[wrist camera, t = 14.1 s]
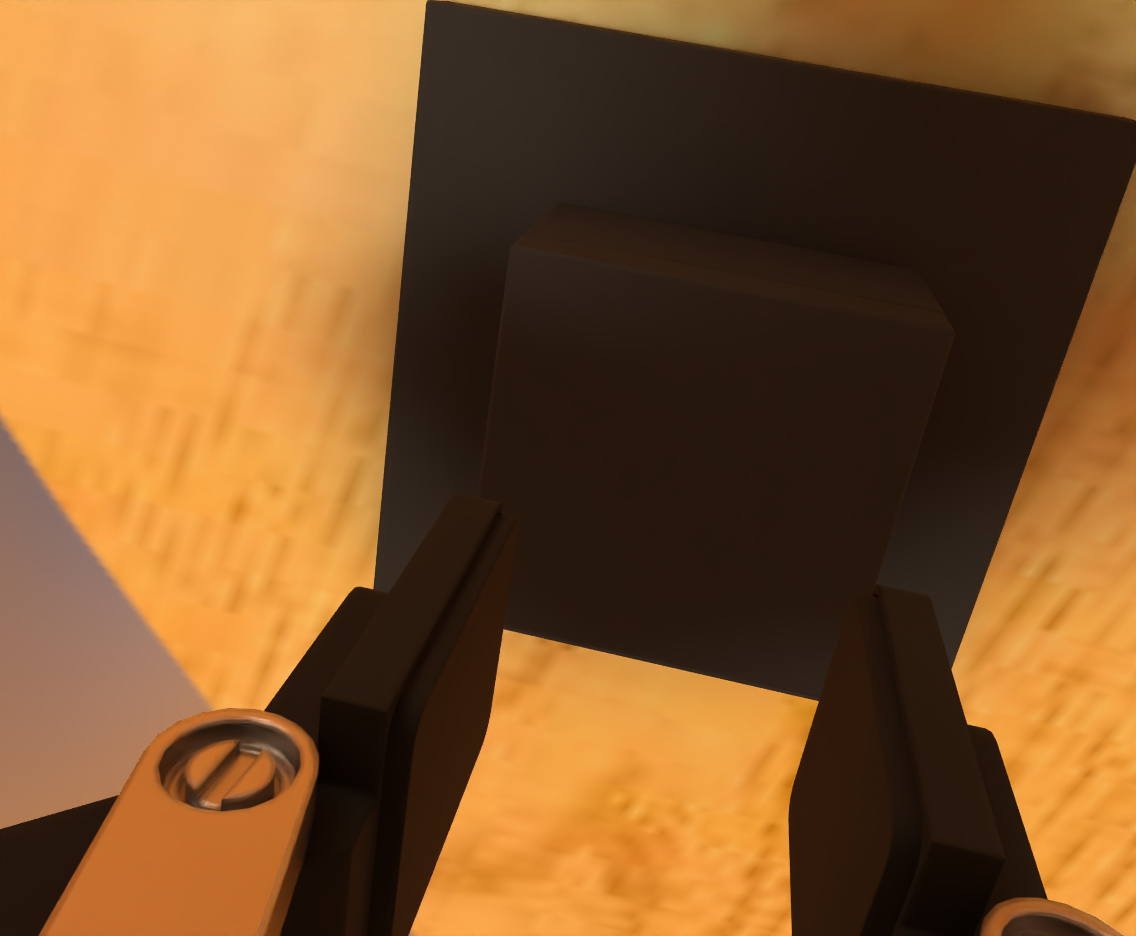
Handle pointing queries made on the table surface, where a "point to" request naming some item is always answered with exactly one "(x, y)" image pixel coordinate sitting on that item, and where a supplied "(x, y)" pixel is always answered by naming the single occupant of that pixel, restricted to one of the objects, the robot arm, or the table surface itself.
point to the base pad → (754, 210)
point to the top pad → (703, 438)
